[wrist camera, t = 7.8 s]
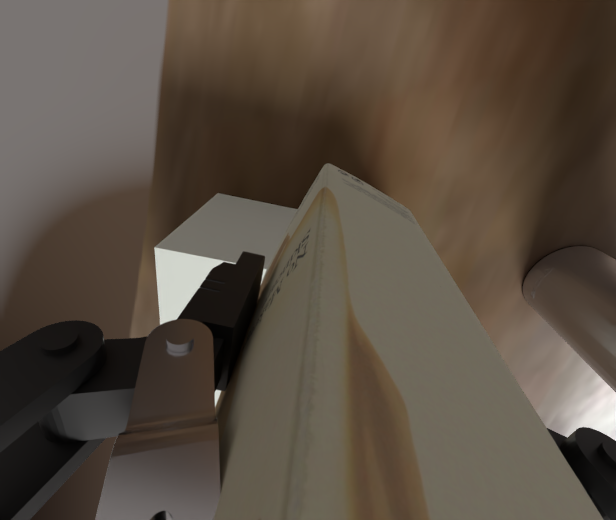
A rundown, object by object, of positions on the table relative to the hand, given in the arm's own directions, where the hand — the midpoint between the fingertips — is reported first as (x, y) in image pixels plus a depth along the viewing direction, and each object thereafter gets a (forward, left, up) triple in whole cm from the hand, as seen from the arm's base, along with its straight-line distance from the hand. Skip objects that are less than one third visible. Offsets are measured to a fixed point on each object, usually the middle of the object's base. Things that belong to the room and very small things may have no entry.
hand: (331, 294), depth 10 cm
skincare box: (0, 0, -4) cm, 4 cm away
